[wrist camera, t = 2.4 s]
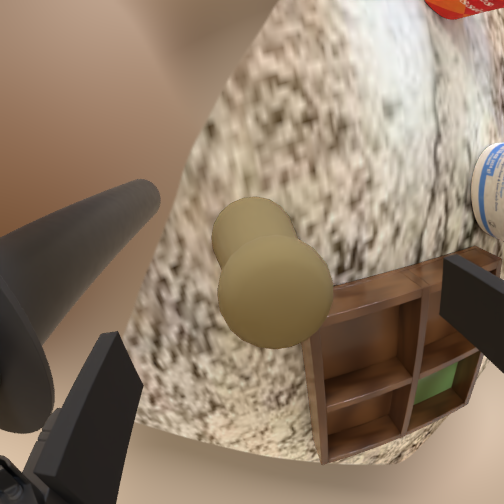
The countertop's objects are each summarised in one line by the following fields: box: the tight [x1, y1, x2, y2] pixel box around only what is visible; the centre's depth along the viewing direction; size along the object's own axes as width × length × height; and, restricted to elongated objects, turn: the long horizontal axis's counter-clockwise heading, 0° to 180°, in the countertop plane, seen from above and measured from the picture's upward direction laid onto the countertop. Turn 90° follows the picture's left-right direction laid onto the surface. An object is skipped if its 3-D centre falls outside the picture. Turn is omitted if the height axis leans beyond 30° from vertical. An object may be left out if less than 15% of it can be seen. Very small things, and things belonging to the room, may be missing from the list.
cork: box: [212, 197, 333, 349], centre depth 18 cm, size 6×6×11 cm
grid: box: [301, 246, 502, 465], centre depth 26 cm, size 19×19×4 cm
